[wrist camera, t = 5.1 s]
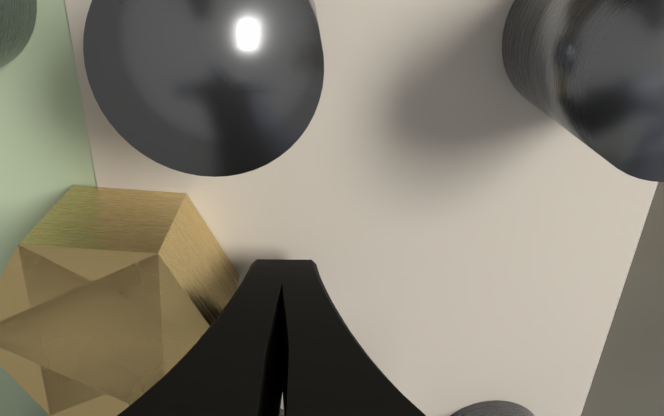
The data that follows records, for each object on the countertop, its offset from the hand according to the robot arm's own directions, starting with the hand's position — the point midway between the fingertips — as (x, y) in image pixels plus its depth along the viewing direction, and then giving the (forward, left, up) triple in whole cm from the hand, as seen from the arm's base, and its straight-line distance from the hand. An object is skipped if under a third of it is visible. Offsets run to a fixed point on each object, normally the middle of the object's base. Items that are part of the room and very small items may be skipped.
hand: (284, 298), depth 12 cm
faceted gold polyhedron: (0, +3, -1) cm, 3 cm away
